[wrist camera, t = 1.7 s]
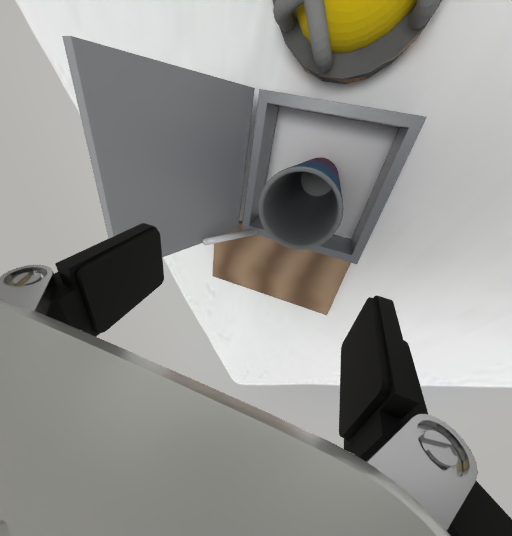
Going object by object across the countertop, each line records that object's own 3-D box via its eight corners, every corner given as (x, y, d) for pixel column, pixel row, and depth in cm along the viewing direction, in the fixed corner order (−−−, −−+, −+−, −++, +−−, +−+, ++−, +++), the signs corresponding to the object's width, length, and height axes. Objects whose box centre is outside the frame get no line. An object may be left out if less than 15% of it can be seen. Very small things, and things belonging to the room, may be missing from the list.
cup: (309, 139, 29) (280, 148, 17) (357, 166, 29) (363, 194, 17) (284, 189, 33) (246, 225, 21) (326, 212, 33) (312, 263, 21)
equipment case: (414, 118, 25) (455, 113, 15) (355, 247, 34) (358, 295, 24) (253, 91, 28) (205, 73, 19) (239, 214, 37) (201, 245, 28)
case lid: (70, 36, 13) (62, 36, 13) (121, 271, 22) (114, 266, 22) (254, 88, 24) (245, 87, 24) (237, 229, 33) (231, 226, 33)
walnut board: (353, 253, 34) (353, 256, 34) (327, 311, 41) (326, 315, 40) (218, 215, 39) (215, 217, 38) (215, 273, 45) (212, 275, 44)
